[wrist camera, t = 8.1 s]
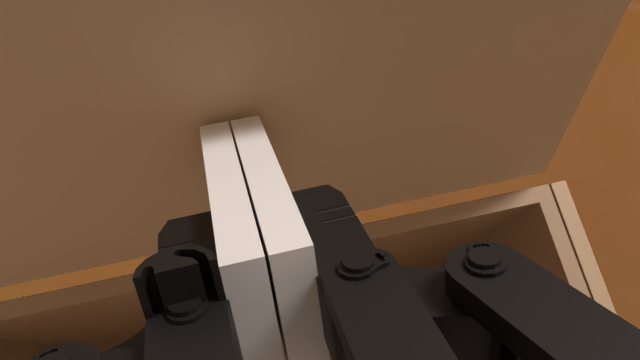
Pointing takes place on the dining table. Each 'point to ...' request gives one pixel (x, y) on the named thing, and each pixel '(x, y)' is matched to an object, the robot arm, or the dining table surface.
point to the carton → (389, 234)
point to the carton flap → (269, 106)
